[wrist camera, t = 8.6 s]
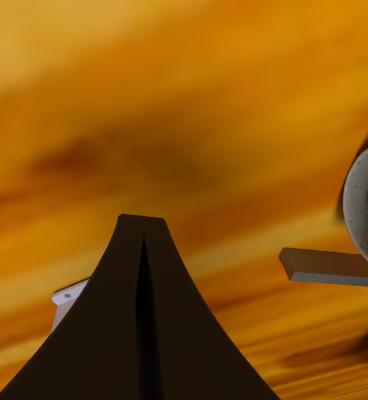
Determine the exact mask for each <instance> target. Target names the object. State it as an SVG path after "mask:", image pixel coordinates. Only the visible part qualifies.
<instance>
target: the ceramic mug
mask: <svg viewBox="0 0 368 400" xmlns="http://www.w3.org/2000/svg"><path fill="white" fill-rule="evenodd" d="M343 214H344V220H345V224H346V227H347V230H348V233H349V235H350V237H351V239H352V241H353V243H354V245H355V247H356V248H357V250H358V251H359V253H360V254H361V255H362V256H363V257H364V258H365V259H366V260H367V261H368V148H367V149H366V150H364V151H363V152H362V153H361V154H360V155H359V156H358V158H357V159H356V160H355V162H354V163H353V165H352V167H351V169H350V171H349V173H348V176H347V178H346V182H345V186H344V192H343Z"/></svg>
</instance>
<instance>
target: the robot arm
mask: <svg viewBox="0 0 368 400" xmlns="http://www.w3.org/2000/svg"><path fill="white" fill-rule="evenodd" d="M52 301H53V302H54V303H55V304H57V305H58V307H57V311H56V315H55V319H54V323H53V326H52V330H51V334H50V335H49V337H48V338H47V339H46V340H45V342H44V343H43V344H42V346H41V347H40V348H39V349H38V350H37V352H36V353H35V354H34V355H33V356H32V358H31V359H30V360H29V361H28V362H27V363H26V365H25V366H24V367H23V368H22V369H21V370H20V371H19V372H18V373H17V374H16V376H15V377H14V378H13V379H12V380H11V381H10V382H9V383H8V384H7V386H6V387H5V388H4V389H3V390H2V391H1V392H0V400H281V399H280V398H279V397H278V396H277V395H276V394H275V393H274V392H273V391H272V389H271V388H270V387H269V386H268V385H267V384H266V383H265V381H264V380H263V379H262V378H261V377H260V375H259V374H258V373H257V372H256V371H255V369H254V368H253V367H252V366H251V365H250V363H249V362H248V361H247V360H246V359H245V357H244V356H243V355H242V354H241V353H240V351H239V350H238V349H237V347H236V346H235V345H234V343H233V342H232V341H231V339H230V338H229V337H228V335H227V334H226V333H225V331H224V330H223V328H222V327H221V325H220V324H219V323H218V321H217V320H216V318H215V317H214V315H213V314H212V312H211V311H210V309H209V307H208V306H207V304H206V303H205V301H204V299H203V298H202V296H201V294H200V293H199V291H198V289H197V288H196V286H195V284H194V282H193V280H192V279H191V277H190V275H189V273H188V271H187V269H186V267H185V265H184V263H183V261H182V259H181V257H180V255H179V253H178V251H177V249H176V246H175V244H174V242H173V239H172V237H171V234H170V232H169V229H168V226H167V223H166V221H165V220H164V219H163V218H157V217H147V216H138V215H128V214H121V215H120V216H118V220H117V224H116V227H115V230H114V233H113V235H112V238H111V240H110V242H109V244H108V247H107V249H106V250H105V252H104V254H103V256H102V258H101V260H100V262H99V264H98V266H97V267H96V269H95V271H94V272H93V274H92V276H91V277H90V279H88V280H85V281H83V282H81V283H78V284H76V285H73V286H71V287H68V288H66V289H64V290H61V291H59V292H56V293H54V294H53V295H52Z"/></svg>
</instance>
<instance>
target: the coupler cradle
mask: <svg viewBox="0 0 368 400" xmlns="http://www.w3.org/2000/svg"><path fill="white" fill-rule="evenodd" d="M279 258H280V260H281V262H282V264H283V267H284V269H285V271H286V274H287V276H288V278H289V281H300V282H313V283H327V284H340V285H354V286H367V287H368V261H367V260H366V259H365V258H364V257H363V256H362V255H355V254H345V253H334V252H324V251H314V250H303V249H293V248H283V250H282V252H281V254H280V255H279Z"/></svg>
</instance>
